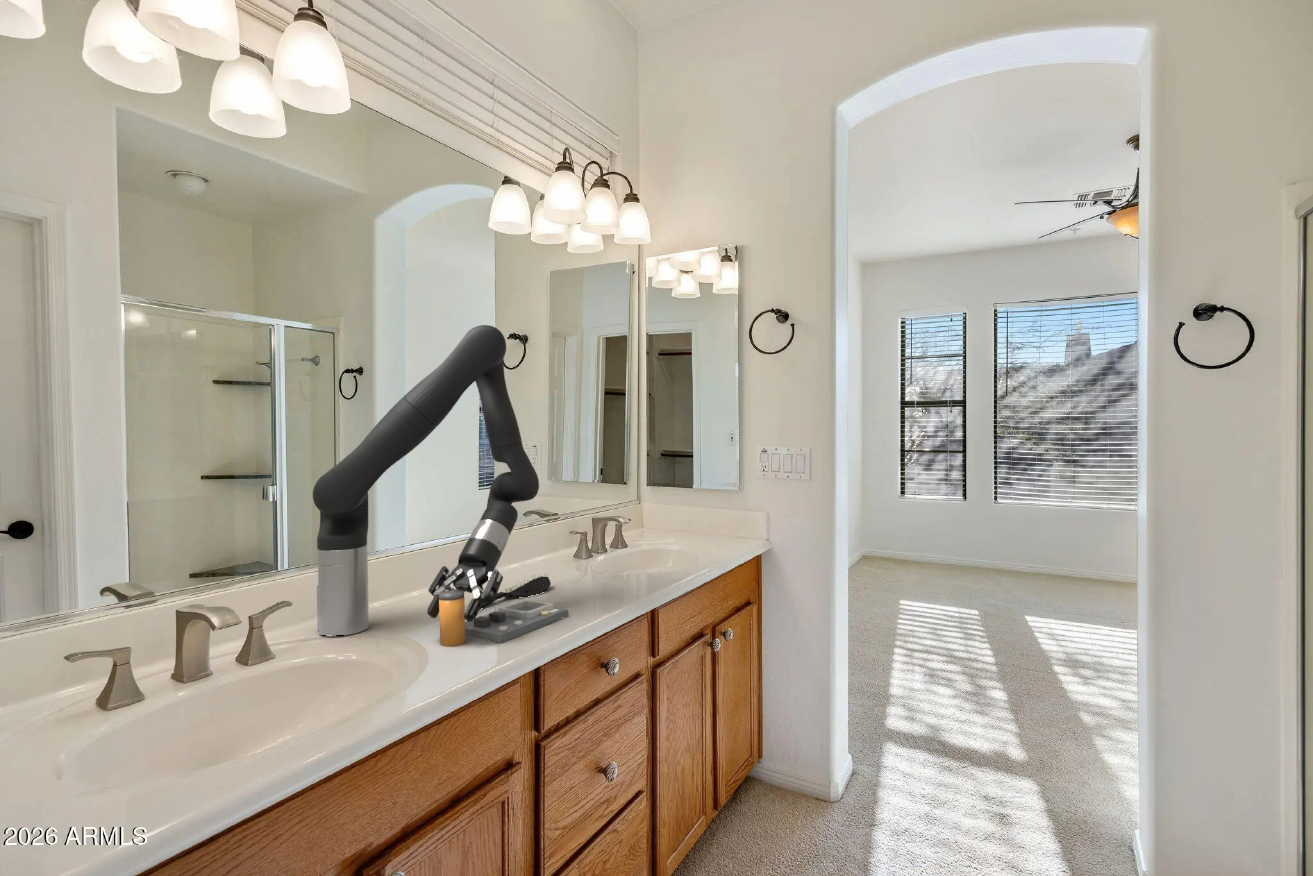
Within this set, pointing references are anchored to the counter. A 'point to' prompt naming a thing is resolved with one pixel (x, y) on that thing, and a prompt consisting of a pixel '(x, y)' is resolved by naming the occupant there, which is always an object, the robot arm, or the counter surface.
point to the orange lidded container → (452, 618)
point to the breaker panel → (513, 620)
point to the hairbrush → (525, 589)
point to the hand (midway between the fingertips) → (449, 617)
